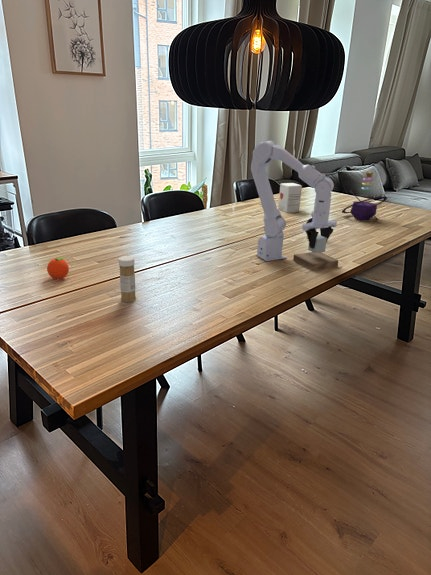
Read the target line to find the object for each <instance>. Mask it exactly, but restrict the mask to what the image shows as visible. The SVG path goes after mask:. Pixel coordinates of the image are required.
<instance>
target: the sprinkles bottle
mask: <svg viewBox="0 0 431 575" xmlns="http://www.w3.org/2000/svg"><path fill="white" fill-rule="evenodd" d="M118 265H119V284H120V296H121V298H120V300H121V301H122V302H124V303H132V302H134V301H136V300H137V297H136V275H135V274H136V273H135V257H134V256H130V255H124V256H120V257H119V258H118Z"/></svg>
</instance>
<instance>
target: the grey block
mask: <svg viewBox="0 0 431 575" xmlns="http://www.w3.org/2000/svg"><path fill="white" fill-rule="evenodd" d="M326 241H327V242H328V240H327V238H326V237H323V236H321V234H318V235H317V238H316V242H315V247H314V248H313V249H312V248H310V247H309V246H308V249H307V250H308V251H309V252H314V253H326V247H327V243H326Z"/></svg>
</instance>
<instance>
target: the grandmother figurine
mask: <svg viewBox="0 0 431 575" xmlns="http://www.w3.org/2000/svg"><path fill="white" fill-rule="evenodd" d="M313 212H314V210H312V212H310V216H311V217H310V218H309V219H308V220H307V221H306V223H305V224H307V223H311V222H312V221H313ZM315 230H316V231H317V229H315ZM305 238H306V239H307V240H308V236H307V235H306V237H305Z"/></svg>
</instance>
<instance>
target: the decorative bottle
mask: <svg viewBox="0 0 431 575" xmlns="http://www.w3.org/2000/svg"><path fill="white" fill-rule="evenodd" d="M373 173H374V172H373V171H365V177H363V178H362V180H363V181H364V182H361V184H362V187H361V190H363V191H368V192H369V191H371V190H373V188H372V187H371V186H373V185H374V184H373V183H372V182H373V181H374V180H375V179H374V178H373V177H372V176H373ZM363 186H364V187H363ZM349 191H350V193H351V194H352V195H353V196H354V197H355V198H356V199H357V200H356V201H353V203H352V204H351V205H349V206H346V207H345V208H344V209H342V211H341V213H342V214H351V216H352V217H353V218H354V219H355V220H357V221H361V222H362V221H363V222H364V221H370V219H372V218H373V217H374V218H375V219H376V220H377V221H379V218H377V217H376V214H377V209H378V208H377V207H378V205H381V204H382V203H384V202H385V201H387V199H388V197H387V196H375V197H372V198H366V199H364V200H361V199H360V198H359V197H357V195H356V194H355V193H354V192H352V190H351V189H350V190H349ZM375 199H376V200H377V199H383V200H382V201H380V202H378V203H374V202H371V200H375ZM350 207H351V209H350V211H346V210H347V209H349V208H350Z"/></svg>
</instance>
